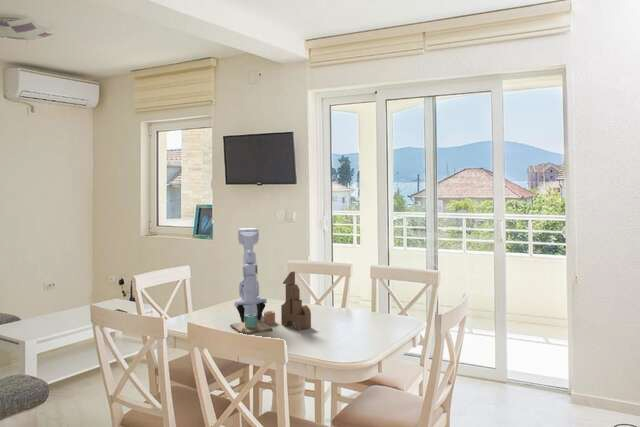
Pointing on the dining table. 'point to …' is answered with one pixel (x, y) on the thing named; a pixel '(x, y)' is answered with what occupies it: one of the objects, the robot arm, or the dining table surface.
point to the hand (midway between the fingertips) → (250, 320)
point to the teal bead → (250, 320)
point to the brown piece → (259, 328)
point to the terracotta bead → (269, 317)
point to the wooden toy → (294, 306)
